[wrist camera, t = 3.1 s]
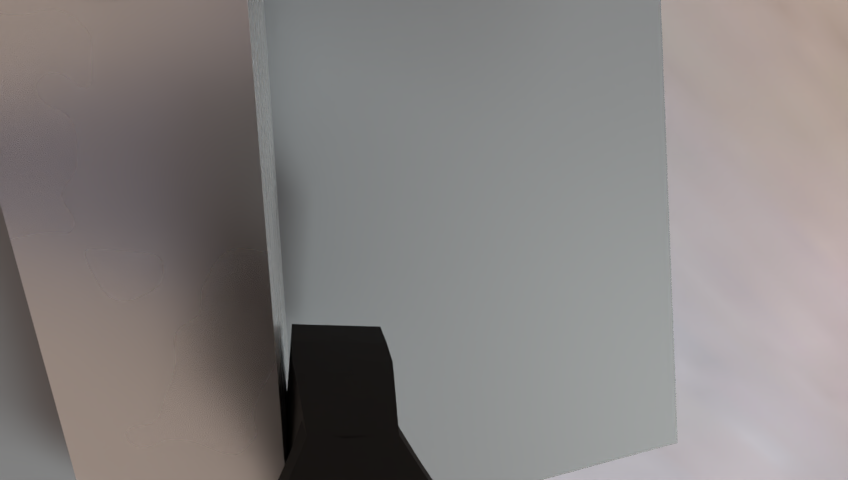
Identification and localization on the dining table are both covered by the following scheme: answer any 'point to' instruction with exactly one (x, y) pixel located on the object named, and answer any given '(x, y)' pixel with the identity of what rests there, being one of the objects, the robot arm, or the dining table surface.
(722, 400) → the dining table surface
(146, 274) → the bar
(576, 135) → the grey flat slab
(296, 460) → the robot arm
